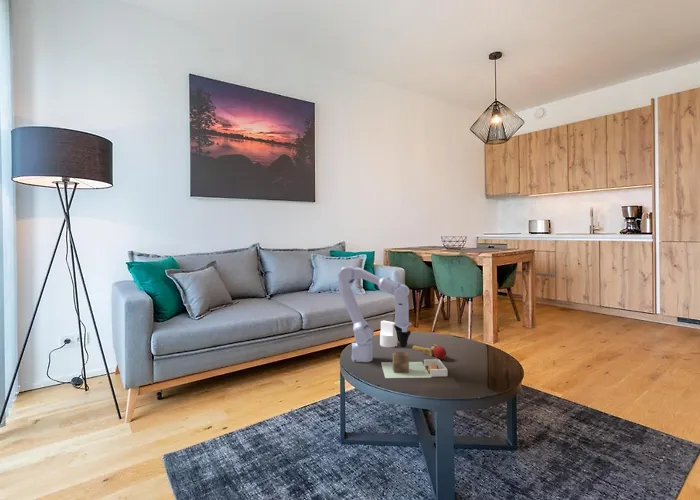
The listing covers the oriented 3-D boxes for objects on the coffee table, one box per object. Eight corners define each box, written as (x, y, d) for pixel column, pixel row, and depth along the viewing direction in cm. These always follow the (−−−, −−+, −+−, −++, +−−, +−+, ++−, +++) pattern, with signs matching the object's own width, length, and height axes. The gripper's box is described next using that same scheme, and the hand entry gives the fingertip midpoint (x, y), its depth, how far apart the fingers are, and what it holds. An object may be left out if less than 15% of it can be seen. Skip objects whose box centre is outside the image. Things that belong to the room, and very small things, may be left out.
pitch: (385, 381, 131) (385, 371, 131) (380, 365, 148) (380, 356, 148) (448, 381, 131) (448, 370, 131) (436, 365, 148) (436, 356, 148)
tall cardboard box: (394, 372, 136) (393, 355, 136) (392, 369, 140) (392, 352, 140) (408, 372, 136) (408, 355, 136) (407, 368, 140) (407, 352, 140)
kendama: (408, 356, 164) (439, 360, 150) (408, 342, 165) (439, 346, 151) (418, 355, 169) (449, 360, 155) (419, 342, 170) (449, 345, 156)
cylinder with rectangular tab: (376, 344, 178) (376, 322, 178) (387, 341, 184) (387, 319, 184) (389, 348, 171) (389, 325, 171) (400, 344, 178) (400, 322, 177)
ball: (428, 375, 136) (430, 365, 136) (426, 371, 140) (427, 362, 140) (438, 376, 136) (439, 367, 136) (435, 372, 140) (437, 363, 140)
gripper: (414, 316, 138) (414, 349, 138) (408, 309, 153) (408, 339, 153) (397, 316, 138) (397, 349, 138) (392, 309, 152) (392, 339, 153)
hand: (402, 344), depth 146 cm, fingers open, 7 cm apart
